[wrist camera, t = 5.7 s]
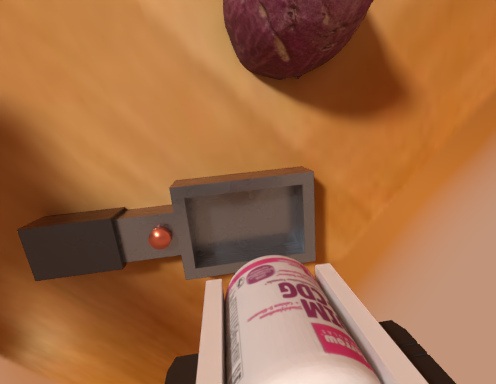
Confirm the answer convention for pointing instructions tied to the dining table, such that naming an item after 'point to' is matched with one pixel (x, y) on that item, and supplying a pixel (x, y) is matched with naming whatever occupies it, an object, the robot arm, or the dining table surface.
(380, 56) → the dining table surface
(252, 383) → the pill bottle
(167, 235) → the shallow gray tray
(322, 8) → the vegetable
